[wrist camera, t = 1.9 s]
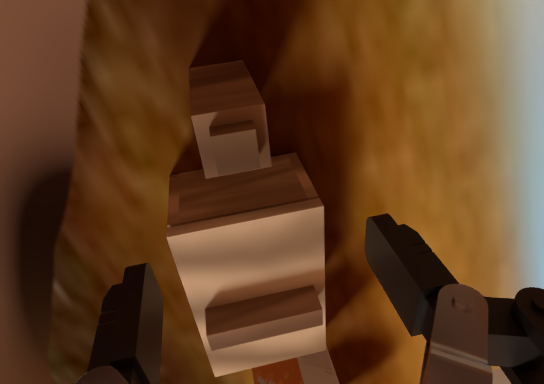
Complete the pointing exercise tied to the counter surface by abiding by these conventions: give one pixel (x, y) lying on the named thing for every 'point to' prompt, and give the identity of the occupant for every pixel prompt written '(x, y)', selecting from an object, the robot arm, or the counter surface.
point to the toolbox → (237, 191)
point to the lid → (255, 284)
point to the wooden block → (228, 119)
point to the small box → (298, 370)
